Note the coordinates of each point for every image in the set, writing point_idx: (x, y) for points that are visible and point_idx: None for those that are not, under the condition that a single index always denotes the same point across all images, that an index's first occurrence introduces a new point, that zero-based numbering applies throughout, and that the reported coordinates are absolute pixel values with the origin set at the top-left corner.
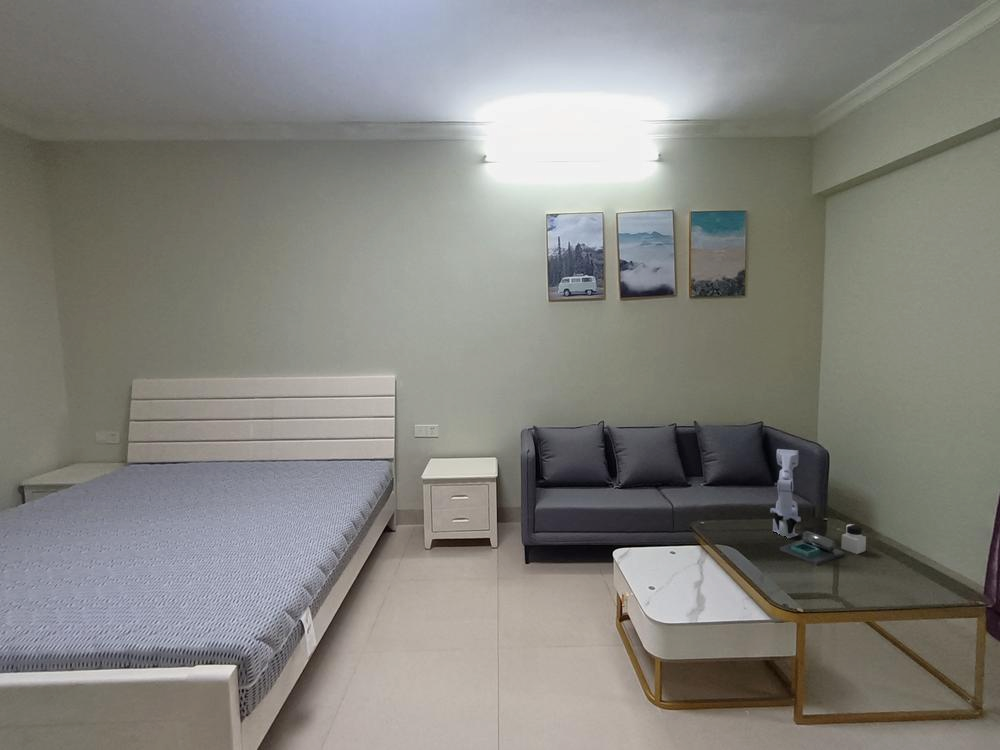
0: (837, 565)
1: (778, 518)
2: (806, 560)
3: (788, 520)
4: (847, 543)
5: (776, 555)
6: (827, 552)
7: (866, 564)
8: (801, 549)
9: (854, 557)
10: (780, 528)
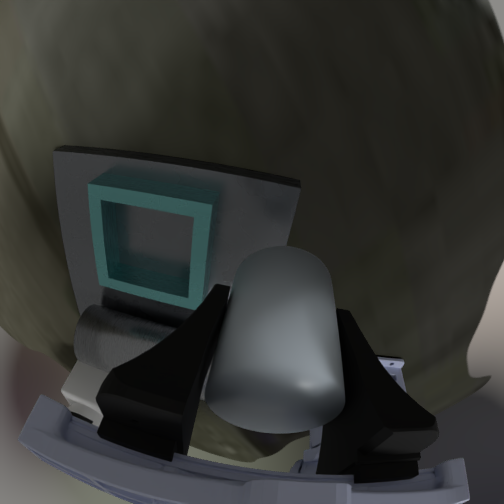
0: (37, 220)
1: (357, 422)
2: (111, 150)
3: (139, 406)
4: (100, 381)
5: (275, 75)
6: (102, 297)
7: (27, 295)
8: (138, 204)
9: (69, 324)
10: (308, 300)
